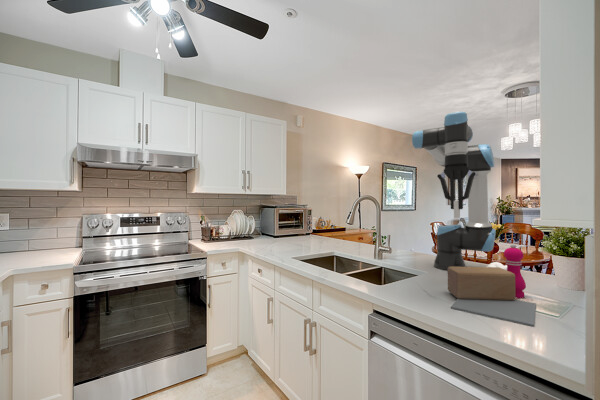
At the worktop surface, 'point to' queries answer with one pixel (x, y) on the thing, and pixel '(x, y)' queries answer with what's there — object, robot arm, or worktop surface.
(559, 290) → the worktop surface
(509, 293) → the block
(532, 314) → the mat
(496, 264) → the white decorative knot
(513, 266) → the pepper mill
